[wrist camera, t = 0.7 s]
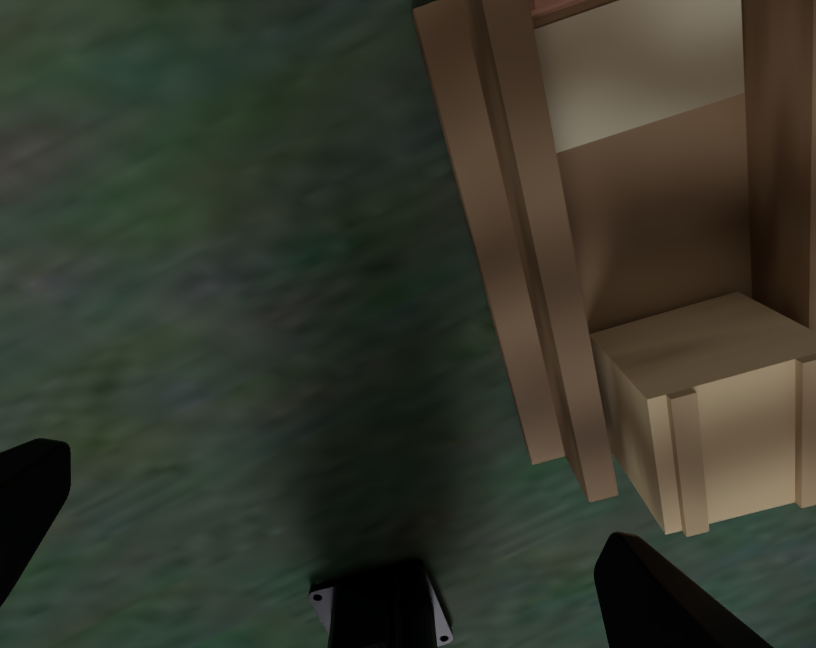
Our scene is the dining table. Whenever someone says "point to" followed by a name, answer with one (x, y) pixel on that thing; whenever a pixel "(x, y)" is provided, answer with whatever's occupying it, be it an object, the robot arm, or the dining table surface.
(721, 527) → the dining table surface
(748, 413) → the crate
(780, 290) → the bay
